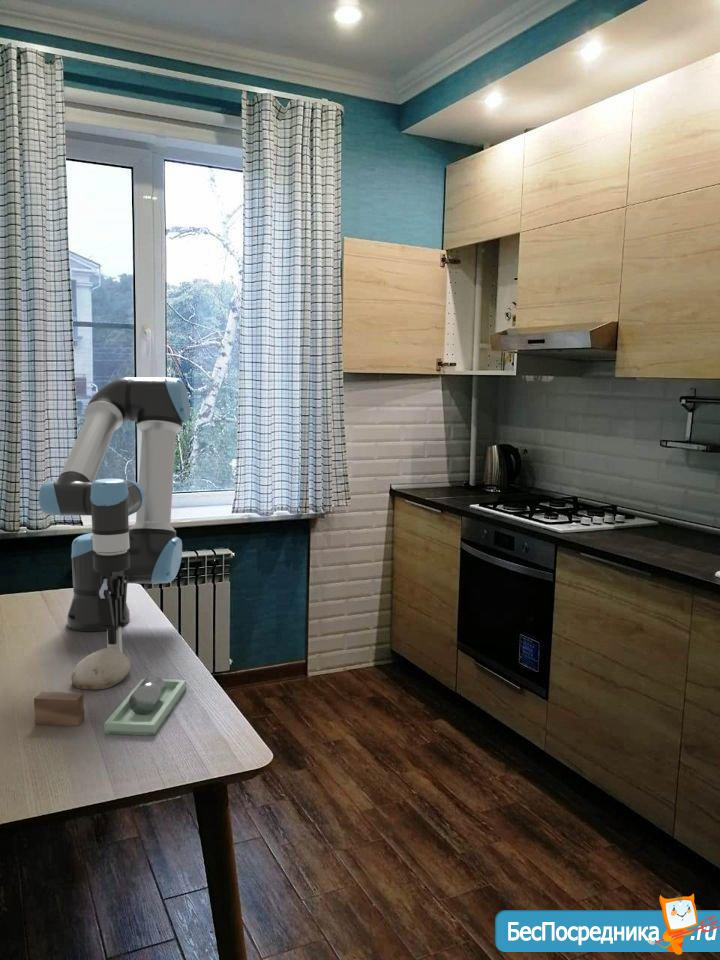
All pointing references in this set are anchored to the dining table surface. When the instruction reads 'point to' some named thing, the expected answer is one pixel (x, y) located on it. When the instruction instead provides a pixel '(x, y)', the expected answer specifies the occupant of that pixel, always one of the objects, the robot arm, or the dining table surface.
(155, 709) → the tray
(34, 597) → the dining table surface
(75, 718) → the block
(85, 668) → the stone
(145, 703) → the roller
